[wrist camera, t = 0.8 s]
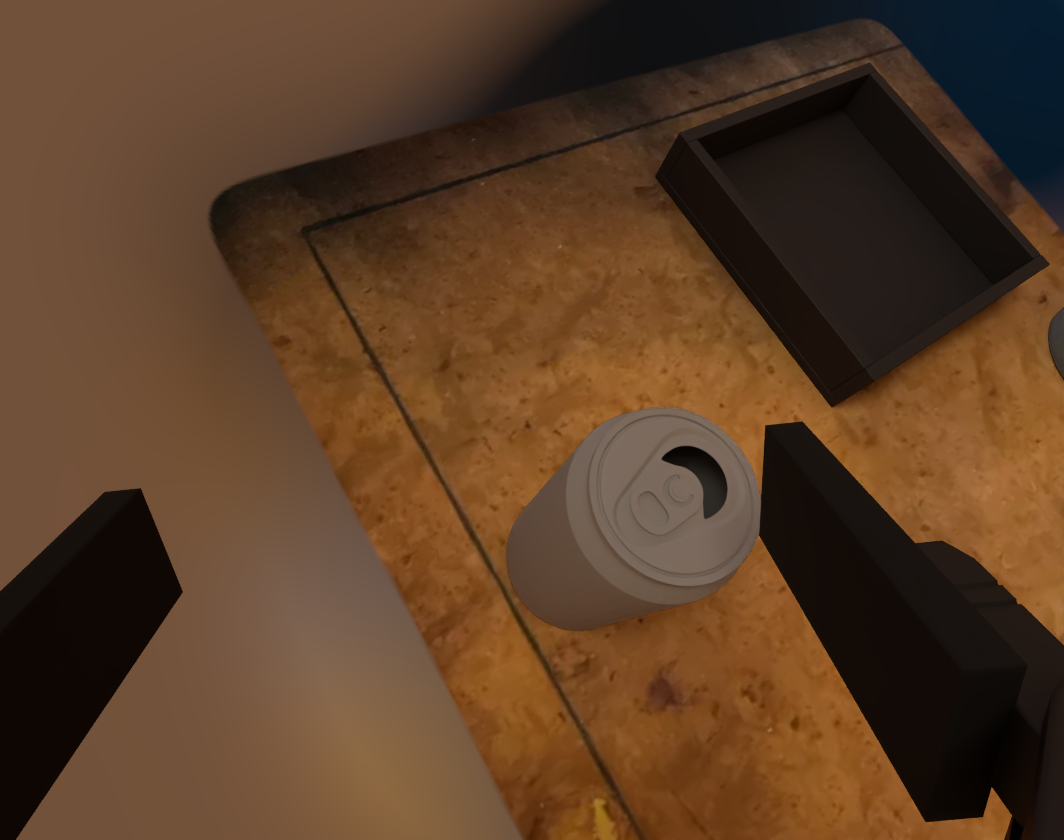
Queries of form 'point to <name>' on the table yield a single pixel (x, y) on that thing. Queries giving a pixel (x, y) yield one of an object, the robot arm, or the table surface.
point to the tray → (846, 225)
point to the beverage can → (636, 521)
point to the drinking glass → (1057, 340)
